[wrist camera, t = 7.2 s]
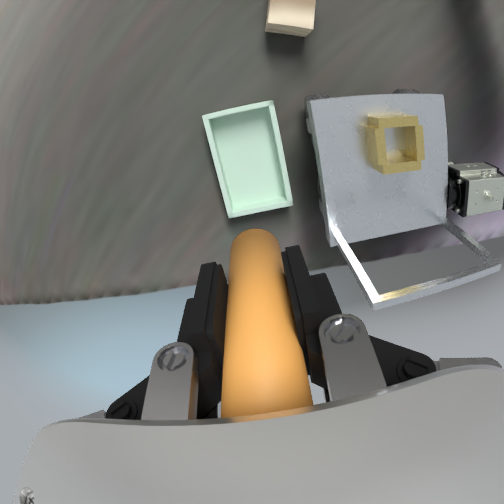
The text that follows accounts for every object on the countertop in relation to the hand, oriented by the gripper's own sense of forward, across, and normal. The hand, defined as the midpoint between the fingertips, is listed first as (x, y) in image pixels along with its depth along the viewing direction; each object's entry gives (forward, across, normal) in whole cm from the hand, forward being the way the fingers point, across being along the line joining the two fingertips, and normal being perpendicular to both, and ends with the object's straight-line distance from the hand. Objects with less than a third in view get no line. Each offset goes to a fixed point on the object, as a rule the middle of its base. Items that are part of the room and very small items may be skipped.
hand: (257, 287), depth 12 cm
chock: (+28, -9, -19) cm, 35 cm away
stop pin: (+3, 0, 0) cm, 3 cm away
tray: (+28, 0, 0) cm, 28 cm away
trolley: (+28, -15, +2) cm, 32 cm away
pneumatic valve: (+28, -29, +6) cm, 41 cm away
